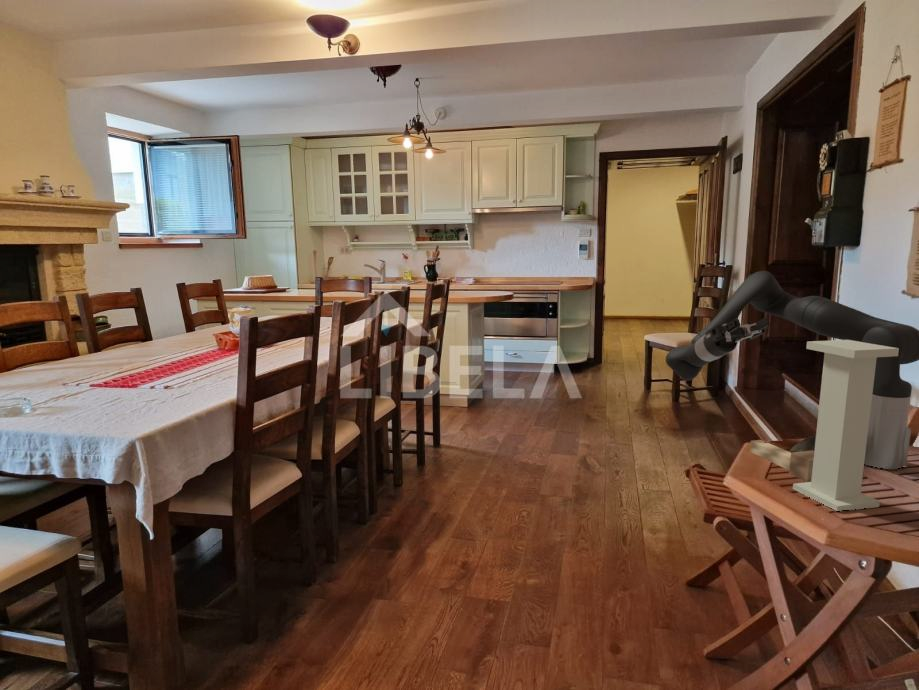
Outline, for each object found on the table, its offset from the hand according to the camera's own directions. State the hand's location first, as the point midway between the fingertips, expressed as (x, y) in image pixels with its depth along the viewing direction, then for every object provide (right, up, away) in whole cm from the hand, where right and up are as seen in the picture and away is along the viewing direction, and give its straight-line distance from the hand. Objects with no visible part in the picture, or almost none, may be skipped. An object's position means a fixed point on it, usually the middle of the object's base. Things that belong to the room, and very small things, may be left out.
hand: (753, 321), depth 141 cm
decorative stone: (+15, -34, -1) cm, 37 cm away
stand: (+3, -37, -26) cm, 46 cm away
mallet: (+3, -35, -8) cm, 36 cm away
